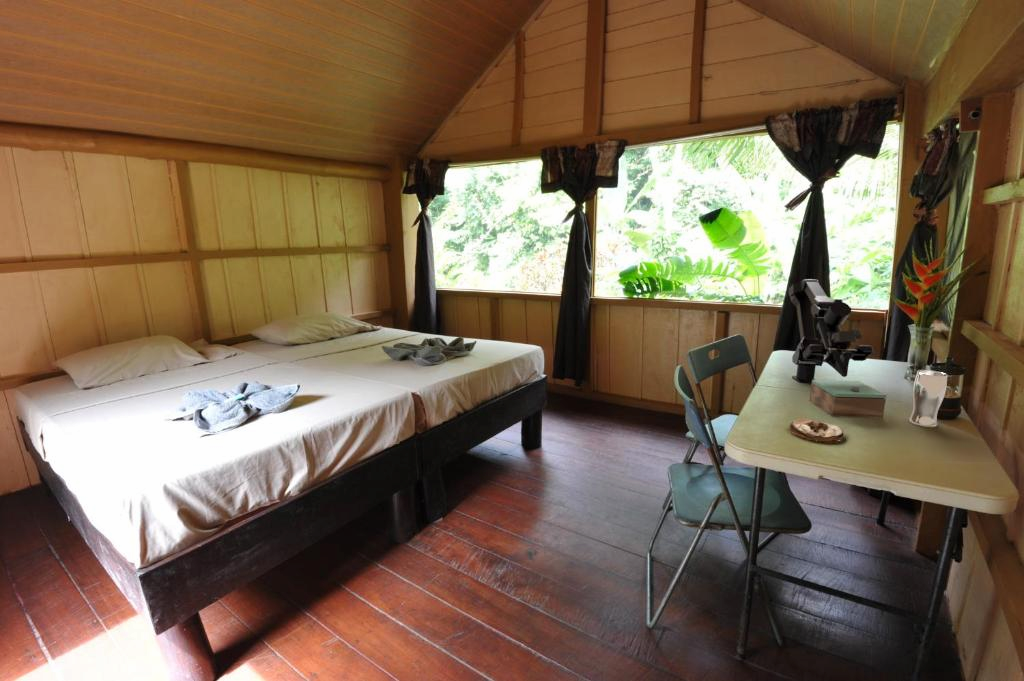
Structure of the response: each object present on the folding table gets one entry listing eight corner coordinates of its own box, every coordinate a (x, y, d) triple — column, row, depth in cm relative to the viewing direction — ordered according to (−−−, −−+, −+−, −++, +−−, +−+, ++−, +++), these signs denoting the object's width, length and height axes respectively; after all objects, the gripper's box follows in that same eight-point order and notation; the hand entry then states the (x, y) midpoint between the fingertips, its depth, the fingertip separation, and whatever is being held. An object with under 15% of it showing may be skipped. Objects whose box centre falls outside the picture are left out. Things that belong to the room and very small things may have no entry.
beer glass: (944, 428, 136) (954, 377, 133) (916, 427, 138) (925, 376, 134) (929, 419, 143) (938, 370, 140) (902, 417, 144) (910, 369, 141)
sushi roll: (800, 420, 144) (801, 407, 143) (857, 437, 132) (859, 423, 132) (773, 431, 136) (775, 417, 135) (832, 451, 124) (835, 436, 123)
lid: (811, 382, 158) (812, 376, 157) (857, 383, 156) (858, 377, 156) (835, 396, 144) (836, 389, 144) (886, 398, 143) (887, 390, 142)
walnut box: (809, 400, 159) (811, 383, 158) (855, 402, 158) (857, 384, 157) (832, 416, 146) (835, 397, 144) (882, 418, 144) (885, 399, 143)
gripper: (812, 319, 154) (825, 363, 146) (875, 320, 152) (892, 364, 144) (797, 338, 163) (808, 380, 155) (856, 339, 161) (871, 381, 153)
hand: (845, 376), depth 152 cm, fingers closed
